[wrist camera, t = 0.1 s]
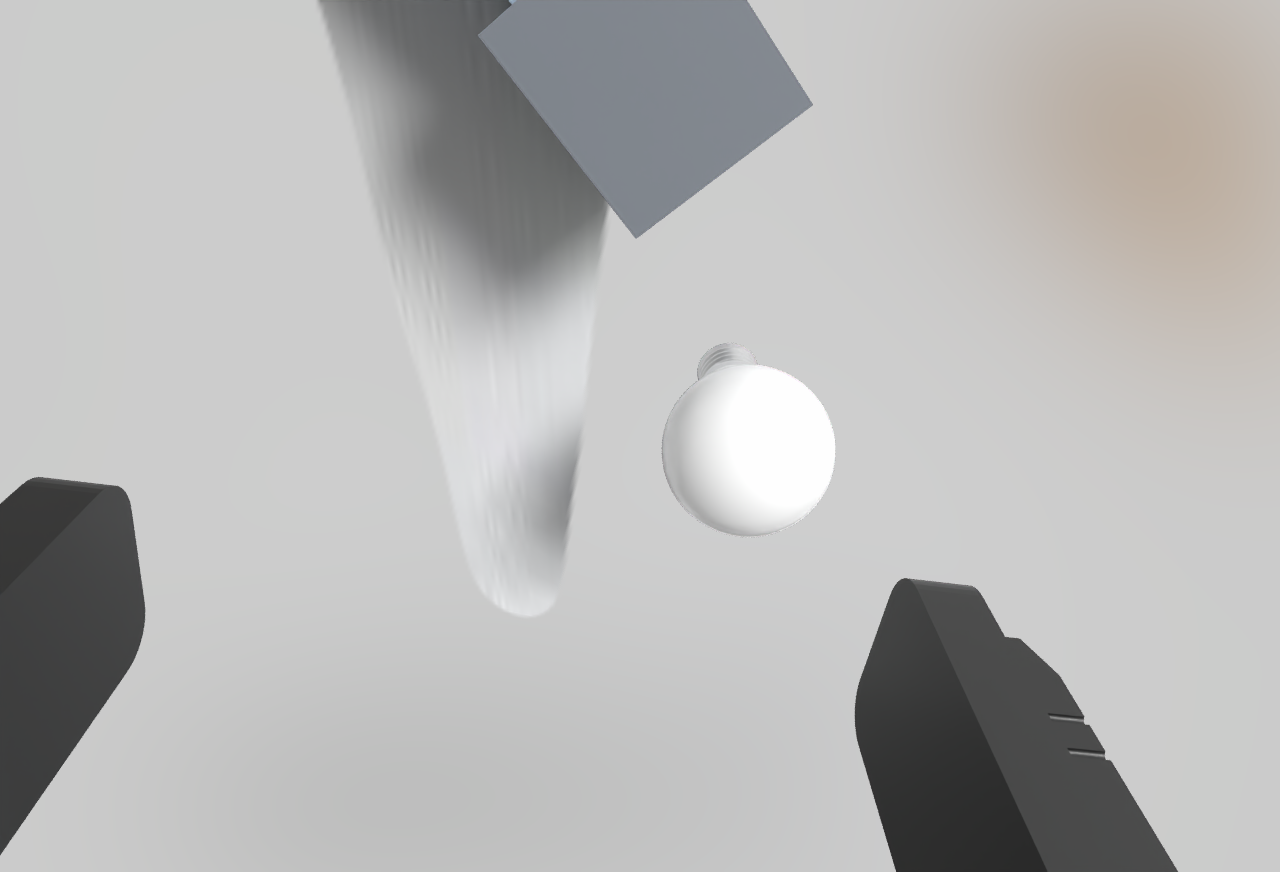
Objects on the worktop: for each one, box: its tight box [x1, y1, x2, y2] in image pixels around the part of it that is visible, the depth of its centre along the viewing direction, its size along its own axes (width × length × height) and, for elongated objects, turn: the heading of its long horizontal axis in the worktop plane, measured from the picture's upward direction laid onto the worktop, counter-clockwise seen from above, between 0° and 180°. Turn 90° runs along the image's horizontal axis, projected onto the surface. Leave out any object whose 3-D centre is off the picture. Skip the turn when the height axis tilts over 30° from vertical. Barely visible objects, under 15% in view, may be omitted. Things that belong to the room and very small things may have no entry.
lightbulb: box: [662, 343, 836, 537], centre depth 35 cm, size 6×6×11 cm
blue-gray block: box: [478, 0, 813, 238], centre depth 30 cm, size 8×7×8 cm
